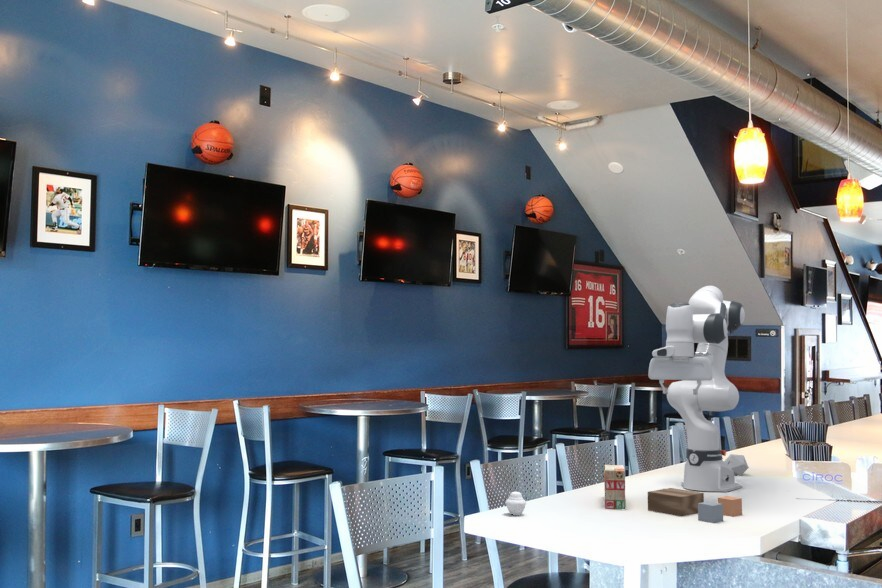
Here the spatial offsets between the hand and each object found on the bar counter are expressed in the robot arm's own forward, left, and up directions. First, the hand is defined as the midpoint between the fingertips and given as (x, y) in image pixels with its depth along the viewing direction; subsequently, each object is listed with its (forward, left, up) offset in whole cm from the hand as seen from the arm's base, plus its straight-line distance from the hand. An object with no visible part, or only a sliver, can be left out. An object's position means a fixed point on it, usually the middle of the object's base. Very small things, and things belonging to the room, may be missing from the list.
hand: (680, 394), depth 259 cm
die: (-74, -28, -36) cm, 87 cm away
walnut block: (+11, +5, -36) cm, 38 cm away
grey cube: (+15, +20, -36) cm, 44 cm away
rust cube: (+2, +18, -36) cm, 40 cm away
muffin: (+55, -20, -36) cm, 68 cm away
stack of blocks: (+16, -15, -36) cm, 42 cm away
